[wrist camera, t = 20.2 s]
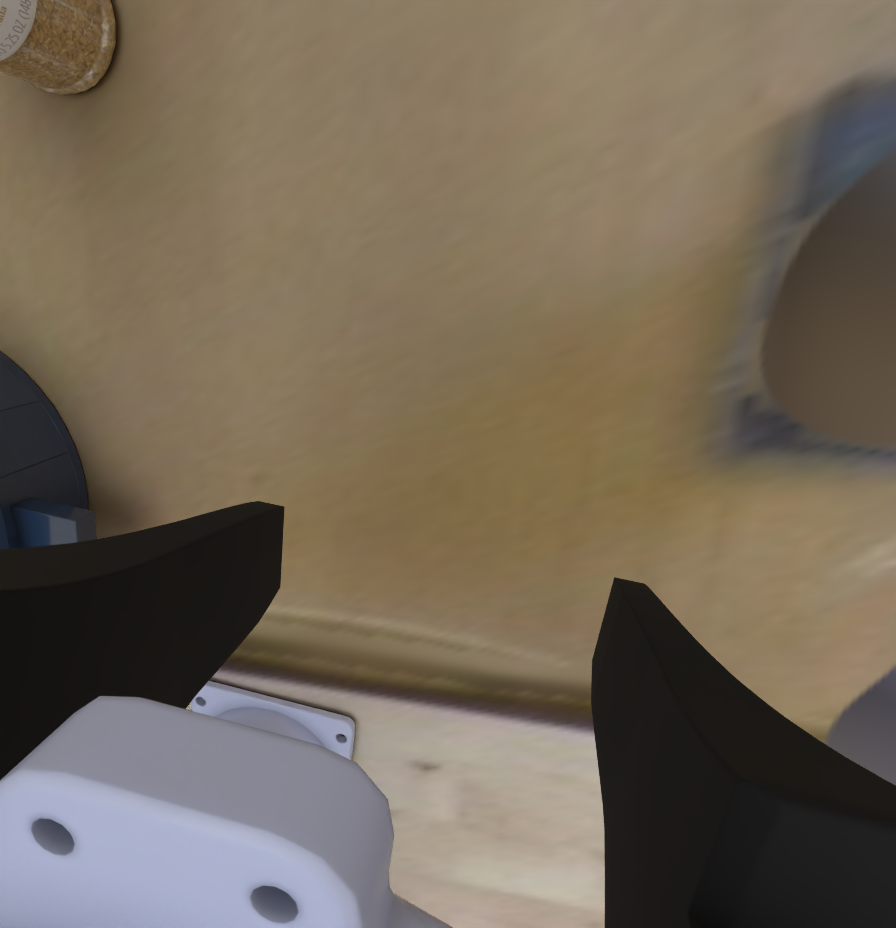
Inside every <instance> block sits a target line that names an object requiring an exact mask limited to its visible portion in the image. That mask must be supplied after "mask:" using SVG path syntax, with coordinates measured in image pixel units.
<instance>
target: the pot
mask: <svg viewBox="0 0 896 928" xmlns="http://www.w3.org/2000/svg"><path fill="white" fill-rule="evenodd" d="M0 506H1V509H2V513H3V516H4V519H5V524H6V529H7V535H8V540H9V549H17V548H27V547H37V546H48V545H58V544H68V543H75V542H82V541H89V540H95V539H96V524H95V512H94V511H91V510H88V497H87V490H86V482H85V477H84V474H83V470H82V466H81V462H80V459H79V456H78V454H77V451H76V448H75V445H74V443H73V441H72V439H71V437H70V435H69V433H68V431H67V429H66V427H65V425H64V423H63V421H62V420H61V418H60V416H59V415H58V413H57V411H56V410H55V408H54V407H53V405H52V404H51V402H50V401H49V400H48V399H47V397H46V396H45V395H44V393H43V392H42V391H41V389H40V388H39V387H38V386H37V385H36V384H35V383H34V382H33V381H32V380H31V378H30V377H29V376H28V375H27V374H26V373H25V372H24V371H23V370H22V369H21V368H19V367H18V366H17V365H16V364H15V363H14V362H13V361H11V360H10V359H9V358H8V357H7V356H5V355H4V354H2V353H1V352H0Z"/></svg>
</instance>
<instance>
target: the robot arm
mask: <svg viewBox="0 0 896 928" xmlns="http://www.w3.org/2000/svg"><path fill="white" fill-rule="evenodd" d="M283 524H284V507H283V506H279V505H274V504H269V503H265V502H260V501H256V502H249V503H244V504H240V505H236V506H232V507H228V508H224V509H221V510H217V511H213V512H210V513H206V514H203V515H199V516H195V517H192V518H188V519H185V520H181V521H177V522H173V523H169V524H165V525H161V526H157V527H153V528H149V529H145V530H141V531H137V532H132V533H128V534H123V535H118V536H112V537H107V538H101V539H95V540H89V541H82V542H75V543H68V544H58V545H48V546H37V547H27V548H17V549H0V928H453V927H451V926H449V925H448V924H446V923H444V922H443V921H441V920H439V919H437V918H436V917H434V916H432V915H430V914H429V913H427V912H425V911H424V910H422V909H420V908H418V907H417V906H415V905H413V904H412V903H410V902H408V901H406V900H405V899H403V898H401V897H400V896H398V895H396V894H394V893H393V892H392V891H391V889H390V886H389V866H390V859H391V853H392V846H393V839H394V831H393V825H392V820H391V815H390V809H389V804H388V799H387V798H386V797H385V795H384V794H383V793H382V792H381V791H380V789H379V788H378V787H377V786H376V785H375V784H374V782H373V781H372V780H371V779H370V778H369V777H368V775H367V774H366V773H365V772H364V771H363V769H362V768H361V767H360V766H359V765H358V764H357V763H355V762H353V761H352V752H353V743H354V734H355V723H354V722H353V720H352V719H351V718H349V717H347V716H344V715H340V714H336V713H332V712H328V711H324V710H320V709H317V708H313V707H309V706H305V705H301V704H297V703H293V702H289V701H286V700H282V699H278V698H274V697H270V696H266V695H262V694H259V693H255V692H251V691H247V690H243V689H239V688H235V687H231V686H228V685H224V684H220V683H216V682H212V681H209V680H210V679H211V678H212V676H213V675H214V674H215V673H216V672H217V671H218V669H219V668H220V667H221V666H222V665H223V664H224V662H225V661H226V660H227V659H228V658H229V657H230V655H231V654H232V653H233V652H234V651H235V650H236V649H237V647H238V646H239V645H240V644H241V643H242V641H243V640H244V639H245V638H246V637H247V635H248V634H249V633H250V632H251V631H252V630H253V628H254V627H255V626H256V625H257V623H258V622H259V621H260V619H261V618H262V616H263V614H264V613H265V611H266V610H267V608H268V607H269V605H270V603H271V602H272V600H273V598H274V597H275V595H276V593H277V592H278V590H279V588H280V581H281V562H282V543H283ZM201 697H202V698H204V699H202V698H201ZM191 701H192V711H190V710H186V708H187V706H188V705H189V704H190V702H191ZM591 705H592V715H593V724H594V733H595V742H596V750H597V759H598V767H599V776H600V784H601V793H602V801H603V814H604V830H605V928H896V786H895V785H893V784H892V783H890V782H888V781H886V780H884V779H882V778H881V777H879V776H877V775H876V774H874V773H872V772H870V771H869V770H867V769H865V768H863V767H861V766H860V765H858V764H856V763H855V762H853V761H851V760H849V759H848V758H846V757H844V756H843V755H841V754H840V753H838V752H836V751H835V750H833V749H832V748H830V747H828V746H827V745H825V744H824V743H822V742H821V741H819V740H818V739H816V738H815V737H813V736H812V735H810V734H809V733H807V732H806V731H804V730H803V729H801V728H800V727H799V726H797V725H796V724H794V723H793V722H791V721H790V720H788V719H787V718H785V717H784V716H783V715H781V714H780V713H779V712H777V711H776V710H775V709H773V708H772V707H771V706H769V705H768V704H767V703H766V702H764V701H763V700H762V699H761V698H759V697H758V696H757V695H756V694H754V693H753V692H752V691H751V690H749V689H748V688H747V687H746V686H745V685H743V684H742V683H741V682H740V681H739V680H738V679H736V678H735V677H734V676H733V675H732V674H731V673H730V672H728V671H727V670H726V669H725V668H724V667H723V666H722V665H721V664H720V663H719V662H718V661H717V660H716V659H715V658H714V657H713V656H712V655H711V654H710V653H709V652H707V650H706V649H705V648H704V647H703V646H702V645H701V644H700V643H699V642H698V641H697V640H696V639H695V638H694V637H693V636H692V635H691V634H690V633H689V632H688V631H687V630H686V629H685V627H684V626H683V625H682V624H681V623H680V622H679V621H678V620H677V619H676V618H675V616H674V615H673V614H672V613H671V612H670V611H669V610H668V608H667V607H666V606H665V605H664V604H663V603H662V602H661V601H660V599H659V598H658V597H657V596H656V595H655V594H654V593H653V592H652V591H651V589H650V588H649V587H648V586H647V585H645V584H643V583H638V582H634V581H629V580H624V579H620V578H615V577H614V581H613V585H612V588H611V592H610V596H609V599H608V603H607V607H606V611H605V614H604V618H603V622H602V626H601V629H600V633H599V637H598V641H597V644H596V648H595V652H594V655H593V659H592V687H591ZM340 734H343V735H345V736H346V737H343V736H341V735H340Z"/></svg>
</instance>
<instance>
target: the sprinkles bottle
mask: <svg viewBox="0 0 896 928" xmlns="http://www.w3.org/2000/svg"><path fill="white" fill-rule="evenodd" d="M115 43H116V39H115V16H114V11H113V7H112V4H111V1H110V0H0V71H1V72H4V73H7V74H9V75H12V76H14V77H17V78H20V79H22V80H25V81H28V82H30V83H31V84H33V85H34V86H35V87H37V88H39V89H41V90H43V91H46V92H49V93H55V94H63V95H67V94H70V93H72V94H77V93H78V92H83V91H86V90H87V89H89V88H90V87H93V86H95V85H96V84H97V83H98V81H99V80H100V79H101V78H102V77H103V76H104V74H105V72H106V70H107V69H108V67H109V65H110V62H111V59H112V53H113V51H114V49H115Z"/></svg>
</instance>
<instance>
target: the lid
mask: <svg viewBox="0 0 896 928" xmlns="http://www.w3.org/2000/svg"><path fill="white" fill-rule="evenodd" d="M0 549H9V540H8V535H7V529H6V524H5V519H4V516H3V513H2V509H1V506H0Z"/></svg>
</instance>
